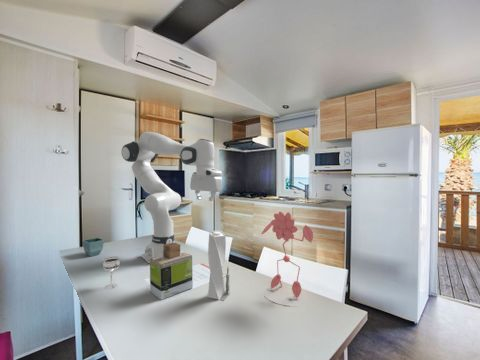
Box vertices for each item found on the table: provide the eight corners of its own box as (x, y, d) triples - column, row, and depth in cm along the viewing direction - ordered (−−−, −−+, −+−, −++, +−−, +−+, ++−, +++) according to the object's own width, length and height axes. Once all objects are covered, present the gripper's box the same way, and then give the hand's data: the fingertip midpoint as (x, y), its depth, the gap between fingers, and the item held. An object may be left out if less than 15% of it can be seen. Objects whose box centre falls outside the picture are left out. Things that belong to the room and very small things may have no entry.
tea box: (180, 281, 113) (181, 249, 112) (192, 288, 106) (193, 255, 105) (149, 291, 102) (149, 257, 102) (160, 300, 95) (160, 263, 95)
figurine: (268, 279, 116) (268, 206, 114) (319, 300, 98) (320, 213, 96) (246, 291, 105) (246, 210, 103) (298, 316, 87) (300, 219, 85)
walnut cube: (163, 256, 103) (163, 244, 103) (173, 253, 107) (173, 242, 107) (170, 259, 100) (170, 246, 100) (180, 256, 104) (180, 244, 104)
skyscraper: (222, 303, 94) (223, 232, 94) (203, 299, 97) (204, 230, 96) (230, 293, 102) (231, 227, 102) (213, 290, 105) (213, 225, 104)
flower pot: (97, 251, 153) (97, 237, 153) (104, 254, 148) (104, 239, 148) (82, 255, 146) (82, 240, 146) (88, 258, 141) (88, 242, 141)
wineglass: (113, 281, 111) (113, 255, 111) (123, 284, 108) (123, 258, 108) (99, 287, 105) (99, 260, 105) (109, 291, 102) (109, 263, 102)
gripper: (187, 171, 124) (187, 198, 124) (214, 172, 110) (214, 202, 110) (197, 172, 128) (196, 198, 129) (224, 172, 115) (224, 201, 115)
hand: (205, 200), depth 119 cm, fingers open, 8 cm apart
